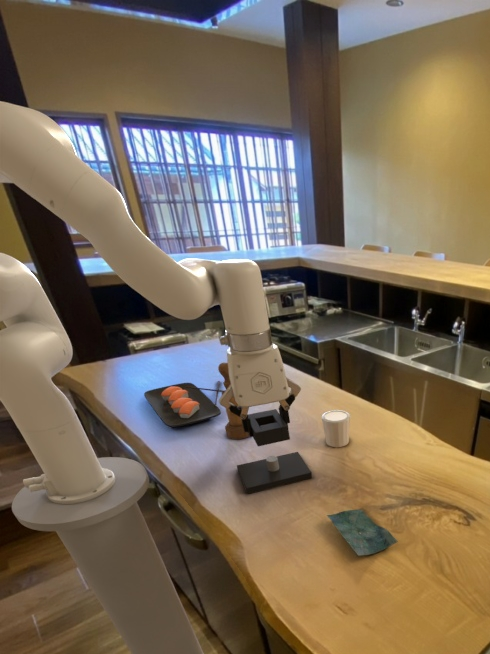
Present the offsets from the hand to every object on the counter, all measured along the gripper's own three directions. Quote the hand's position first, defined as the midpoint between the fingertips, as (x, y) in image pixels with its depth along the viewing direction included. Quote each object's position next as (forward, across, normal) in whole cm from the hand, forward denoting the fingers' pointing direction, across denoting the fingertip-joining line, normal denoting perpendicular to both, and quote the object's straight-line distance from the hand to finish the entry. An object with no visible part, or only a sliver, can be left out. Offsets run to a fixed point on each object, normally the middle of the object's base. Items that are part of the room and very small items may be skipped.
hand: (267, 429), depth 87 cm
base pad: (+11, 0, 0) cm, 11 cm away
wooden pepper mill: (+11, -3, +23) cm, 26 cm away
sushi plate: (+11, -7, +47) cm, 49 cm away
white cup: (+11, +18, +8) cm, 22 cm away
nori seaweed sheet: (+11, +9, -27) cm, 30 cm away
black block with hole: (+1, 0, 0) cm, 1 cm away
